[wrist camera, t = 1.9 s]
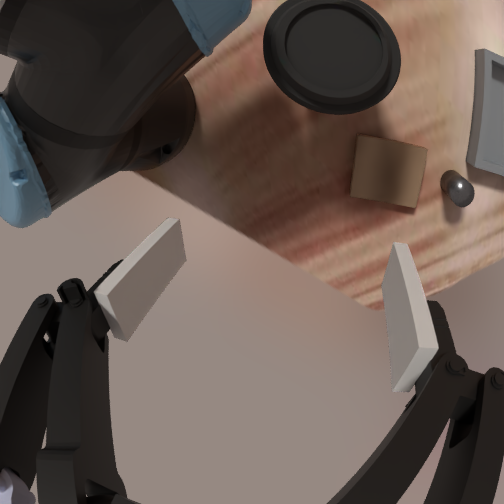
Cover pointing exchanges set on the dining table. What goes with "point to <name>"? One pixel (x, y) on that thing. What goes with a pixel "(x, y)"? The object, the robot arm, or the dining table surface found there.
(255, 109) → the dining table surface
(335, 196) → the dining table surface
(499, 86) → the tray
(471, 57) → the dining table surface
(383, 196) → the board
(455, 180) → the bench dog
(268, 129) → the dining table surface
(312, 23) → the coffee cup
